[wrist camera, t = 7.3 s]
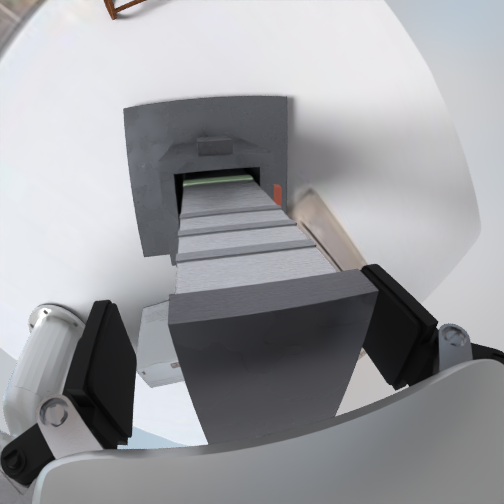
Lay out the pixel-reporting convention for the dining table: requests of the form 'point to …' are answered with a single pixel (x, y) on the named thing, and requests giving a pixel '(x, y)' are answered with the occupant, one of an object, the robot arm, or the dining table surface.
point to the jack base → (200, 155)
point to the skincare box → (157, 348)
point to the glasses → (113, 11)
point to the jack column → (259, 313)
